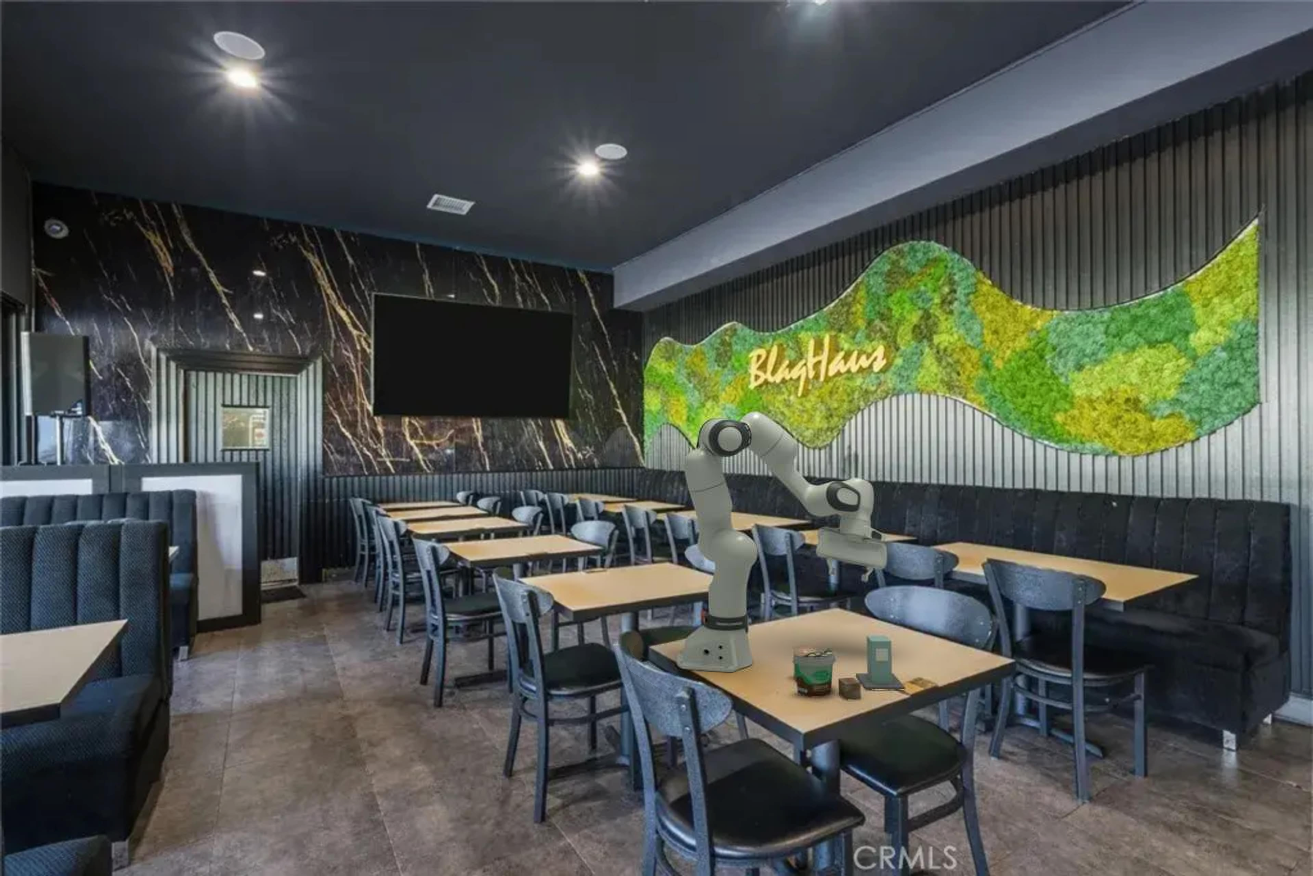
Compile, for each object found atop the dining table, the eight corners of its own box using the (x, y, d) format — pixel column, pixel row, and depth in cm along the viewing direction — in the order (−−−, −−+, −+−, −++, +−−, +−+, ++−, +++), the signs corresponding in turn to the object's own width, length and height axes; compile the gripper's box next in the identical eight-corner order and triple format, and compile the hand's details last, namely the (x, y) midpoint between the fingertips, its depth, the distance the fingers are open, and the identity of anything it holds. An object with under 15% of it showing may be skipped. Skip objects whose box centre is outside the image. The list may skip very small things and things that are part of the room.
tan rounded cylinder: (795, 683, 173) (795, 653, 173) (792, 675, 179) (791, 646, 179) (818, 683, 172) (818, 653, 172) (814, 675, 178) (813, 645, 178)
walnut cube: (845, 700, 161) (845, 684, 161) (838, 694, 165) (838, 678, 165) (860, 699, 161) (860, 683, 161) (853, 693, 165) (853, 677, 165)
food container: (809, 702, 160) (808, 661, 160) (793, 693, 165) (792, 654, 165) (846, 692, 165) (845, 653, 166) (830, 684, 171) (829, 646, 171)
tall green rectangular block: (872, 683, 169) (871, 641, 169) (867, 676, 174) (866, 635, 174) (892, 683, 168) (891, 641, 169) (886, 676, 174) (885, 635, 174)
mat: (865, 690, 167) (865, 687, 167) (856, 676, 177) (855, 673, 177) (905, 690, 166) (905, 687, 166) (893, 676, 176) (893, 673, 176)
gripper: (820, 522, 193) (813, 568, 189) (891, 537, 190) (885, 583, 186) (817, 527, 199) (810, 571, 195) (885, 541, 196) (880, 586, 191)
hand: (847, 577), depth 190 cm, fingers open, 8 cm apart
